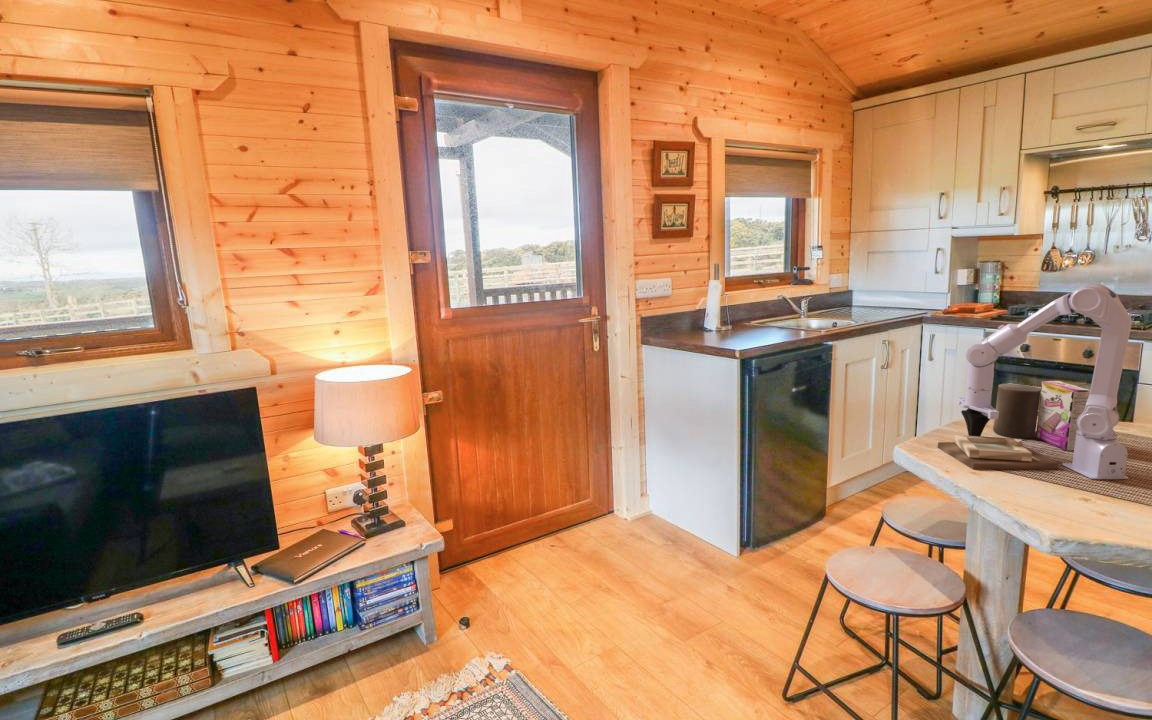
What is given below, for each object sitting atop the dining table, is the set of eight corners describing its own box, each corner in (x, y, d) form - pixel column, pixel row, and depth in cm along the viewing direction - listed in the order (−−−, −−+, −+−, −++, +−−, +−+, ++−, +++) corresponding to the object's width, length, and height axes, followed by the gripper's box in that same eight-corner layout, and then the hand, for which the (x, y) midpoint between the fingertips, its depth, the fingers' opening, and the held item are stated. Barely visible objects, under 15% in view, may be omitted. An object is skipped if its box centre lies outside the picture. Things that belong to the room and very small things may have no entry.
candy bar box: (1033, 438, 163) (1040, 380, 160) (1052, 437, 163) (1059, 380, 160) (1065, 451, 152) (1073, 390, 149) (1085, 451, 152) (1093, 389, 149)
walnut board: (1057, 468, 141) (1058, 462, 140) (972, 469, 142) (973, 463, 142) (1013, 447, 156) (1014, 441, 156) (937, 447, 158) (938, 441, 158)
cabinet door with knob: (1031, 461, 141) (1032, 451, 141) (969, 457, 145) (970, 447, 145) (1011, 445, 153) (1012, 436, 152) (954, 442, 156) (955, 433, 156)
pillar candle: (1016, 440, 162) (1023, 387, 159) (984, 430, 171) (990, 380, 168) (1044, 437, 164) (1051, 385, 161) (1011, 427, 173) (1017, 377, 170)
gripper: (947, 382, 161) (943, 429, 164) (979, 395, 147) (974, 446, 150) (974, 381, 161) (970, 429, 163) (1009, 394, 147) (1003, 446, 149)
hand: (974, 437), depth 156 cm, fingers closed
